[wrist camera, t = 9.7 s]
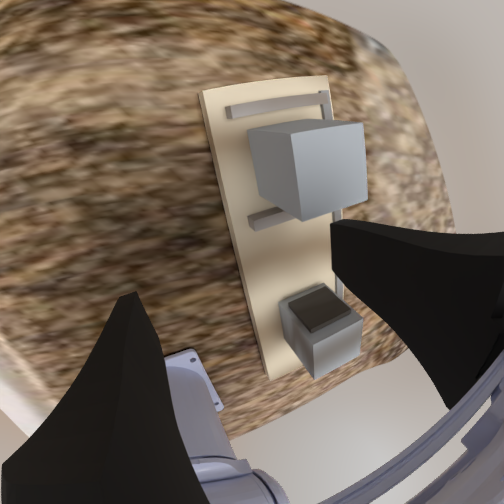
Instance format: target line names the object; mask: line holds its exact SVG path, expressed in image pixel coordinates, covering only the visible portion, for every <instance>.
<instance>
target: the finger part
mask: <svg viewBox="0 0 504 504" xmlns="http://www.w3.org/2000/svg"><path fill="white" fill-rule="evenodd" d="M247 133H248V138H249V144H250V149H251V154H252V159H253V165H254V170H255V175H256V181H257V186H258V192H259V195H260V196H261V197H263V198H265V199H266V200H268V201H270V202H271V203H273V204H274V205H276V206H278V207H279V208H281V209H282V210H284V211H286V212H287V213H289V214H290V215H292V216H294V217H295V218H297V219H298V220H300V221H301V222H304V221H307V220H310V219H313V218H316V217H319V216H322V215H325V214H328V213H331V212H334V211H336V210H339V209H342V208H345V207H348V206H351V205H354V204H357V203H360V202H363V201H366V200H368V196H367V170H366V154H365V141H364V130H363V123H361V122H351V121H339V120H325V119H301V120H295V121H289V122H283V123H278V124H272V125H267V126H262V127H257V128H252V129H248V130H247Z"/></svg>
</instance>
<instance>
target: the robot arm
mask: <svg viewBox="0 0 504 504" xmlns="http://www.w3.org/2000/svg"><path fill="white" fill-rule="evenodd" d="M330 238H331V264H332V271H333V272H334V273H335V274H336V276H337V277H338V278H339V279H340V280H341V282H342V283H343V284H344V285H345V286H346V287H347V288H348V289H349V290H350V291H351V292H352V293H353V294H354V295H356V296H357V297H358V298H359V299H360V300H361V301H362V302H364V303H365V304H366V305H367V306H368V307H369V308H370V309H372V310H373V311H374V312H375V313H376V314H377V315H378V316H379V317H381V318H382V319H383V320H384V321H385V322H386V323H387V324H388V325H389V326H390V327H391V328H392V329H393V330H394V331H395V332H396V333H397V335H398V336H399V337H400V338H401V339H402V340H403V342H404V343H405V344H406V345H407V346H408V348H409V349H410V350H411V351H412V353H413V354H414V355H415V357H416V358H417V359H418V361H419V362H420V364H421V365H422V366H423V368H424V369H425V371H426V372H427V374H428V375H429V377H430V378H431V380H432V382H433V383H434V385H435V387H436V389H437V390H438V392H439V394H440V396H441V397H442V399H443V401H444V403H445V405H446V407H447V408H448V409H449V410H450V411H449V412H448V413H447V414H446V415H445V416H444V417H442V418H441V419H440V420H439V421H438V422H437V423H436V424H435V425H434V426H433V427H431V428H430V429H429V430H428V431H427V432H426V433H425V434H423V435H422V436H421V437H420V438H419V439H417V440H416V441H415V442H414V443H412V444H411V445H410V446H409V447H408V448H406V449H405V450H403V451H402V452H401V453H400V454H398V455H397V456H396V457H394V458H393V459H391V460H390V461H389V462H387V463H386V464H384V465H383V466H381V467H380V468H378V469H377V470H376V471H374V472H372V473H371V474H369V475H368V476H366V477H365V478H363V479H362V480H360V481H358V482H356V483H355V484H353V485H351V486H350V487H348V488H346V489H345V490H343V491H341V492H339V493H337V494H336V495H334V496H332V497H330V498H328V499H326V500H324V501H322V502H320V503H318V504H369V503H370V502H372V501H373V500H375V499H377V498H378V497H380V496H381V495H383V494H384V493H386V492H387V491H389V490H390V489H391V488H393V487H394V486H395V485H397V484H398V483H400V482H401V481H402V480H404V479H405V478H406V477H408V476H409V475H410V474H411V473H413V472H414V471H415V470H416V469H418V468H419V467H420V466H421V465H422V464H424V463H425V462H426V461H427V460H429V459H430V458H431V457H432V456H433V455H434V454H435V453H436V452H438V451H439V450H440V449H441V448H442V447H443V446H444V445H445V444H446V443H447V442H448V441H449V440H450V439H451V438H452V437H453V436H454V435H455V434H456V433H457V432H458V431H459V430H460V429H461V428H462V427H463V426H464V425H465V424H466V423H467V422H468V421H469V420H470V419H471V418H472V417H473V415H474V414H475V413H476V412H477V411H478V410H479V409H480V407H481V406H482V405H483V404H484V403H485V402H486V400H487V399H488V398H489V397H490V395H491V406H490V407H489V409H488V410H487V411H486V412H485V413H484V415H483V416H482V417H481V418H480V419H479V421H478V422H477V423H476V424H475V425H474V426H473V427H472V428H471V429H470V430H469V432H468V433H467V434H466V435H465V436H464V437H463V438H462V439H461V442H462V443H463V445H465V446H466V448H467V450H466V451H465V452H464V453H463V454H462V455H461V456H460V457H459V458H458V459H457V460H456V461H455V462H454V463H453V464H452V465H451V466H450V467H449V468H448V469H447V470H445V471H444V472H443V473H442V474H441V475H440V476H439V477H438V478H436V479H435V480H434V481H433V482H432V483H430V484H429V485H428V486H427V487H426V488H424V489H423V490H422V491H421V492H419V493H418V494H417V495H415V496H414V497H413V498H412V499H410V500H409V501H407V502H406V503H405V504H504V232H497V233H485V234H450V233H438V232H427V231H420V230H413V229H407V228H401V227H395V226H389V225H384V224H378V223H372V222H366V221H359V220H350V219H342V220H339V221H336V222H333V223H330ZM191 358H194V359H191ZM223 408H224V406H223V403H222V402H221V400H220V398H219V396H218V394H217V392H216V390H215V388H214V386H213V385H212V383H211V381H210V379H209V377H208V375H207V373H206V371H205V369H204V367H203V365H202V363H201V361H200V359H199V357H198V355H197V352H196V351H195V350H194V349H187V350H184V351H182V352H179V353H176V354H173V355H170V356H167V357H165V358H164V356H163V352H162V348H161V345H160V341H159V338H158V335H157V333H156V331H155V329H154V327H153V325H152V323H151V321H150V319H149V317H148V315H147V313H146V311H145V309H144V307H143V305H142V303H141V301H140V298H139V296H138V294H137V292H136V291H135V292H133V293H130V294H127V295H124V296H121V297H119V299H118V301H117V303H116V304H115V306H114V308H113V311H112V313H111V315H110V317H109V319H108V321H107V323H106V325H105V327H104V329H103V331H102V333H101V335H100V337H99V339H98V341H97V342H96V344H95V346H94V348H93V350H92V352H91V354H90V355H89V357H88V359H87V361H86V363H85V364H84V366H83V368H82V369H81V371H80V373H79V374H78V376H77V377H76V379H75V380H74V382H73V384H72V385H71V387H70V388H69V390H68V391H67V392H66V394H65V395H64V396H63V398H62V399H61V400H60V402H59V403H58V404H57V406H56V407H55V408H54V410H53V411H52V412H51V414H50V415H49V416H48V417H47V419H46V420H45V421H44V422H43V423H42V425H41V426H40V427H39V428H38V429H37V430H36V431H35V432H34V433H33V435H32V436H31V437H30V438H29V439H28V440H27V441H26V442H25V443H24V444H23V445H22V446H21V447H20V448H19V449H18V450H17V451H16V452H15V453H14V454H12V456H10V457H9V458H8V459H7V460H6V461H5V462H4V463H3V464H2V475H1V476H2V477H1V479H2V480H1V501H2V504H290V502H289V499H288V497H287V496H286V493H285V492H284V490H283V488H282V487H281V486H280V484H279V483H278V482H277V481H276V480H275V479H274V478H273V477H271V476H270V475H268V474H267V473H266V472H264V471H262V470H260V469H251V467H250V465H249V463H248V461H247V459H242V460H237V458H236V456H235V454H234V451H233V449H232V447H231V445H230V442H229V440H228V437H227V435H226V433H225V430H224V428H223V426H222V423H221V421H220V418H219V416H218V413H217V412H218V411H221V410H222V409H223Z"/></svg>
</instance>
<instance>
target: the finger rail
mask: <svg viewBox="0 0 504 504" xmlns="http://www.w3.org/2000/svg"><path fill="white" fill-rule="evenodd" d="M198 95H199V100H200V104H201V109H202V113H203V118H204V122H205V127H206V131H207V136H208V140H209V145H210V149H211V154H212V158H213V163H214V167H215V171H216V176H217V180H218V184H219V189H220V193H221V197H222V201H223V206H224V210H225V214H226V218H227V223H228V227H229V231H230V235H231V239H232V243H233V248H234V252H235V256H236V260H237V264H238V268H239V272H240V276H241V280H242V284H243V288H244V292H245V296H246V300H247V304H248V308H249V312H250V316H251V320H252V324H253V328H254V332H255V336H256V340H257V344H258V347H259V351H260V355H261V359H262V363H263V367H264V370H265V373H266V375H267V377H268V378H269V380H270V381H272V380H274V379H276V378H279V377H281V376H283V375H285V374H287V373H289V372H292V371H294V370H296V369H298V368H300V367H302V366H305V368H306V369H307V370H308V372H309V373H310V375H311V376H312V377H313V379H314V380H315V379H317V378H319V377H321V376H323V375H325V374H327V373H329V372H331V371H332V370H334V369H336V368H338V367H340V366H341V365H343V364H345V363H347V362H349V361H350V360H352V359H354V358H355V357H357V356H359V353H360V345H361V337H362V328H363V317H361V316H360V315H359V314H358V313H357V312H356V311H355V310H354V309H353V308H352V307H350V306H349V305H348V304H347V303H346V302H345V301H344V284H343V283H342V282H341V280H340V279H339V278H338V277H337V276H336V274H335V273H334V272H333V271H332V264H331V238H330V223H333V222H336V221H339V220H342V209H339V210H336V211H334V212H331V213H328V214H325V215H322V216H319V217H316V218H313V219H310V220H307V221H304V222H301V221H300V220H298V219H297V218H295V217H294V216H292V215H290V214H289V213H287V212H286V211H284V210H282V209H281V208H279V207H278V206H276V205H274V204H273V203H271V202H270V201H268V200H266V199H265V198H263V197H261V196H260V195H259V192H258V186H257V181H256V175H255V170H254V165H253V159H252V154H251V149H250V144H249V138H248V133H247V130H248V129H252V128H257V127H262V126H267V125H272V124H278V123H283V122H289V121H295V120H301V119H325V120H334V117H333V110H332V102H331V96H330V89H329V83H328V77H327V75H326V76H306V77H292V78H282V79H272V80H264V81H256V82H249V83H242V84H236V85H230V86H224V87H219V88H214V89H209V90H204V91H201V92H199V93H198Z"/></svg>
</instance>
